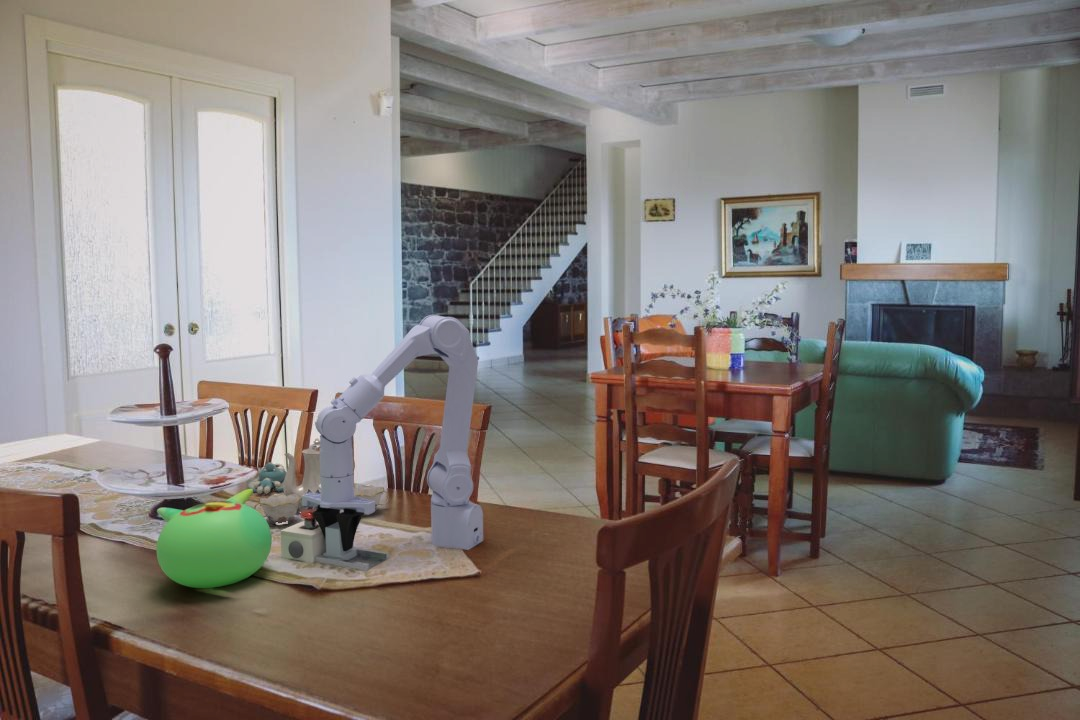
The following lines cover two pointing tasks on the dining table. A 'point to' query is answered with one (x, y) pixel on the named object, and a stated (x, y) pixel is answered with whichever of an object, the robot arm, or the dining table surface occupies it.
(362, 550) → the rail
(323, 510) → the robot arm
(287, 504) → the chinaware
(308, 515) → the red push button
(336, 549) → the carriage
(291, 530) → the end cabinet
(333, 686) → the dining table surface
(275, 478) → the stuffed animal
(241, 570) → the green rounded blob
